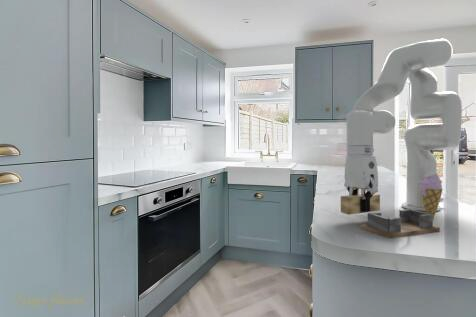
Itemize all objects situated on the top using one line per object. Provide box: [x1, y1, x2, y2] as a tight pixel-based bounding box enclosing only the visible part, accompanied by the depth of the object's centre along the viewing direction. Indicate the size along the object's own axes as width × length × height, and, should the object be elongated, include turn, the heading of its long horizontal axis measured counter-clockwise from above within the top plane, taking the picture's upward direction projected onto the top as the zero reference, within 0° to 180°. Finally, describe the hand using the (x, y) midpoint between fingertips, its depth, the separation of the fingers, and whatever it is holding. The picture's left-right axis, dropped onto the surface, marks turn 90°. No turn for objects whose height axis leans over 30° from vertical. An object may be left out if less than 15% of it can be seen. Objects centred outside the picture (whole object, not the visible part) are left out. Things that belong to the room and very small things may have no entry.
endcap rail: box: [360, 208, 441, 239], centre depth 87 cm, size 18×10×4 cm, turn 110°
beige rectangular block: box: [340, 193, 381, 215], centre depth 96 cm, size 12×4×5 cm, turn 110°
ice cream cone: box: [419, 172, 443, 219], centre depth 98 cm, size 7×6×15 cm
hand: (360, 209), depth 96 cm, fingers closed on beige rectangular block, 3 cm apart
